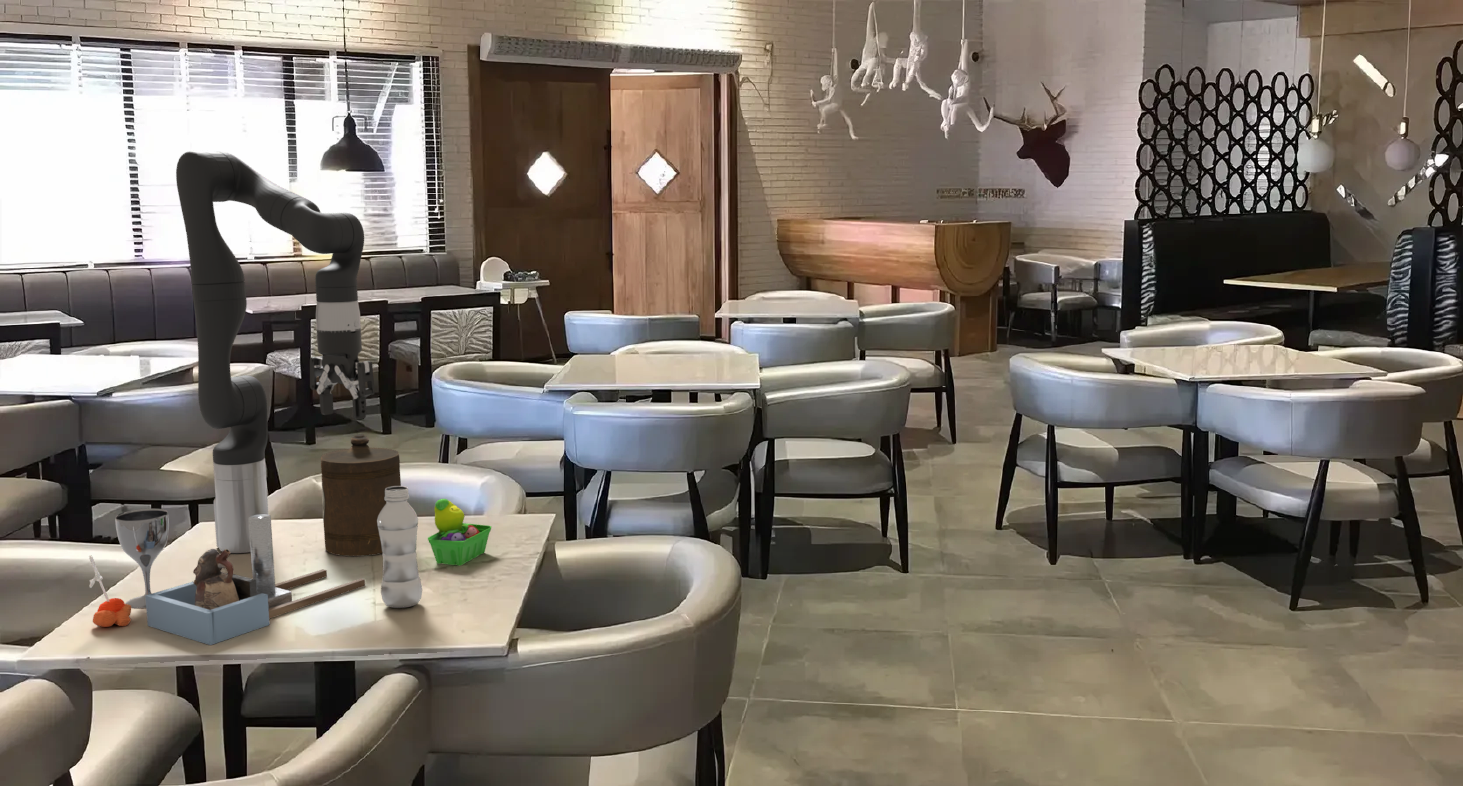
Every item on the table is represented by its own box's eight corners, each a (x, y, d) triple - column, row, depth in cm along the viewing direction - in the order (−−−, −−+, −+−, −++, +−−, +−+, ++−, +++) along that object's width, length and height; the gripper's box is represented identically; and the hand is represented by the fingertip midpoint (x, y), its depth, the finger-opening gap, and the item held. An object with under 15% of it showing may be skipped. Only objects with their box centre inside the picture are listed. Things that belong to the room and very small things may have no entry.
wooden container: (361, 532, 250) (355, 425, 247) (420, 540, 244) (415, 431, 240) (308, 551, 237) (301, 438, 233) (369, 561, 231) (363, 445, 227)
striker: (224, 610, 203) (218, 521, 200) (267, 596, 209) (261, 510, 207) (251, 617, 199) (245, 527, 197) (294, 603, 206) (288, 515, 203)
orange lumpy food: (71, 635, 192) (65, 560, 190) (112, 615, 201) (106, 543, 200) (106, 637, 191) (100, 562, 189) (145, 617, 200) (140, 545, 198)
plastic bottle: (412, 613, 202) (406, 494, 198) (374, 611, 203) (367, 492, 200) (429, 601, 208) (424, 485, 205) (392, 598, 209) (386, 483, 206)
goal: (147, 625, 196) (145, 595, 195) (207, 607, 205) (205, 578, 204) (210, 645, 188) (207, 613, 187) (269, 624, 197) (267, 594, 196)
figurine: (208, 613, 202) (203, 542, 200) (249, 615, 201) (245, 543, 199) (184, 628, 195) (178, 555, 193) (226, 630, 194) (221, 556, 192)
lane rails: (214, 610, 203) (213, 603, 203) (323, 575, 222) (322, 569, 221) (257, 622, 198) (256, 615, 197) (365, 586, 216) (364, 579, 216)
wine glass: (140, 612, 203) (133, 523, 200) (112, 603, 207) (105, 516, 204) (184, 598, 209) (178, 512, 207) (156, 590, 213) (149, 506, 211)
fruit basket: (463, 568, 226) (460, 508, 224) (420, 564, 229) (418, 504, 227) (494, 551, 236) (492, 494, 235) (453, 547, 239) (451, 490, 237)
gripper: (294, 326, 220) (300, 416, 223) (349, 331, 212) (353, 423, 215) (328, 322, 226) (333, 409, 229) (382, 326, 219) (387, 417, 221)
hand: (343, 416), depth 222 cm, fingers open, 8 cm apart
